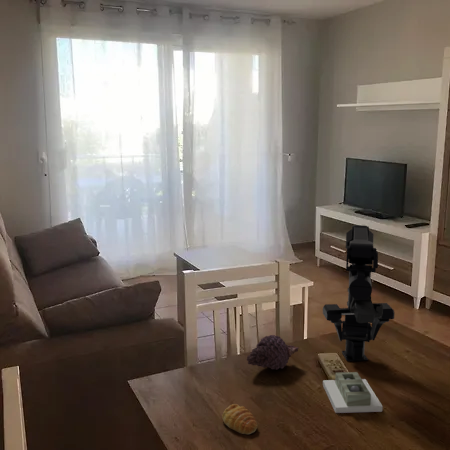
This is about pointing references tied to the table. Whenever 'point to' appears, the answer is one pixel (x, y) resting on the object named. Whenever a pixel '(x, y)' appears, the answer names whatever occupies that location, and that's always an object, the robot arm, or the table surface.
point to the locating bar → (345, 385)
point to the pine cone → (271, 353)
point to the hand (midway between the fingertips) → (356, 340)
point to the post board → (340, 404)
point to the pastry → (239, 419)
